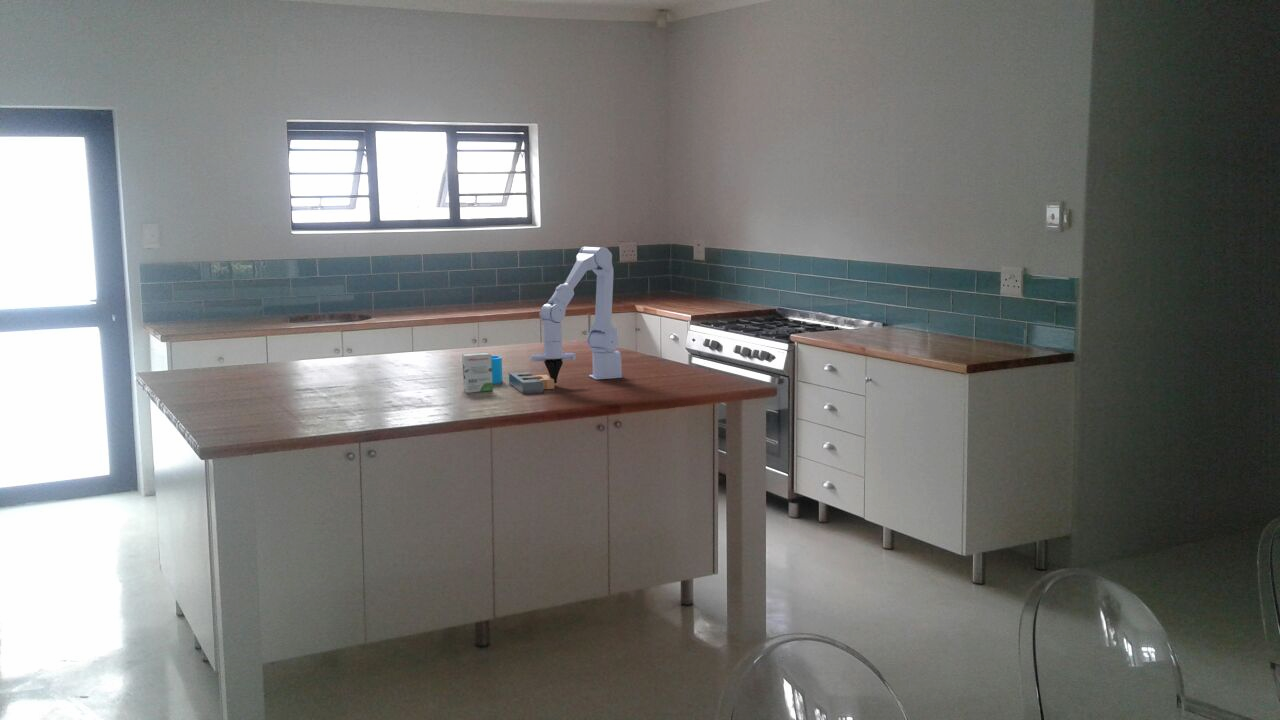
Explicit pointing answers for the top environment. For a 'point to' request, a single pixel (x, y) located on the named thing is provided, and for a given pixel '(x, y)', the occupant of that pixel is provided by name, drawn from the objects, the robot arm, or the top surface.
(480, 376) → the ink box
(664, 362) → the top surface
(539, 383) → the grey hollow block
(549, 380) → the clip
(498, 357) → the blue cylinder
